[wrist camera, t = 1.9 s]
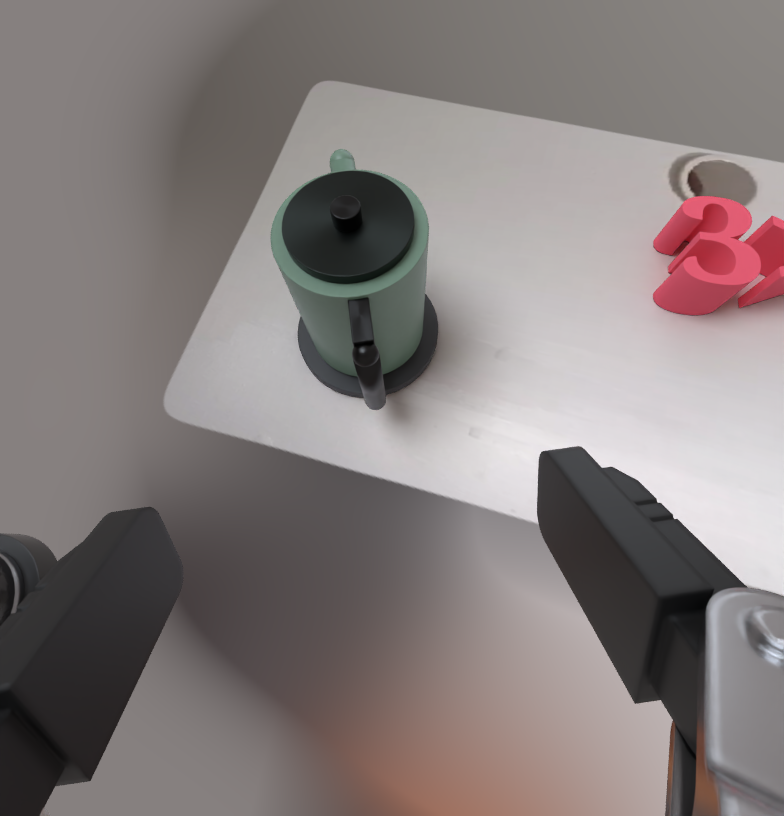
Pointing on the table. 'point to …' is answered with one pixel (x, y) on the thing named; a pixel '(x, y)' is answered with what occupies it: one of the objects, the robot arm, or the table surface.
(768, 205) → the table surface
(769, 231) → the pink curled block
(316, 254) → the kettle
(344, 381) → the kettle base
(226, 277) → the table surface
